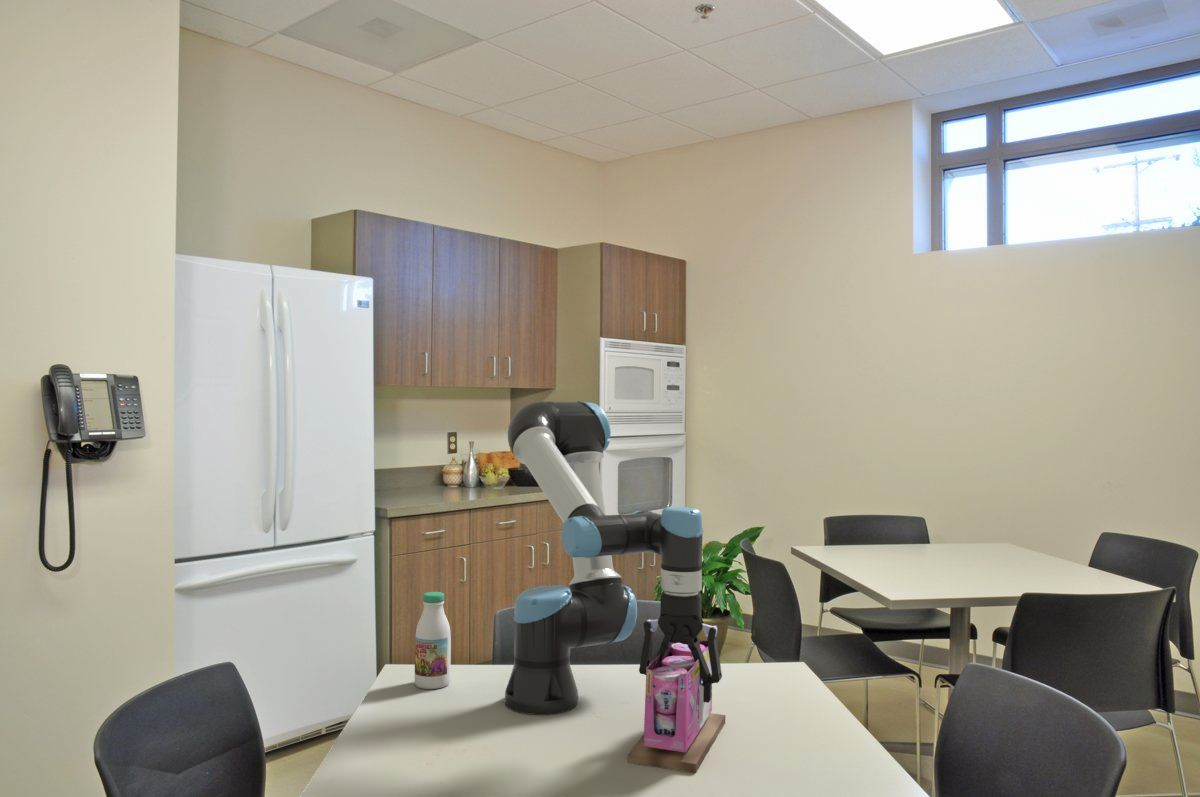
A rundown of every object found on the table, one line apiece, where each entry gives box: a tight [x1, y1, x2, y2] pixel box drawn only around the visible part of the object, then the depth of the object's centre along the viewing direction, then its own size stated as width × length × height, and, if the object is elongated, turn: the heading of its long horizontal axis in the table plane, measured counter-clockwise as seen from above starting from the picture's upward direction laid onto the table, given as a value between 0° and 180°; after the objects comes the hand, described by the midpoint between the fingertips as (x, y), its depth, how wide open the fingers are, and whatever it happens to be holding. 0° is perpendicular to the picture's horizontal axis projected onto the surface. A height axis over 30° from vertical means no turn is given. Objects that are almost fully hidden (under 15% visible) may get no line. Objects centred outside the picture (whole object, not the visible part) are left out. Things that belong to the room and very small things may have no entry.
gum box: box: [643, 639, 713, 752], centre depth 158 cm, size 24×8×14 cm, turn 161°
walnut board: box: [627, 712, 726, 774], centre depth 158 cm, size 12×25×2 cm, turn 160°
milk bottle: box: [414, 591, 452, 690], centre depth 189 cm, size 8×8×20 cm
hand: (679, 715), depth 158 cm, fingers closed on gum box, 8 cm apart
